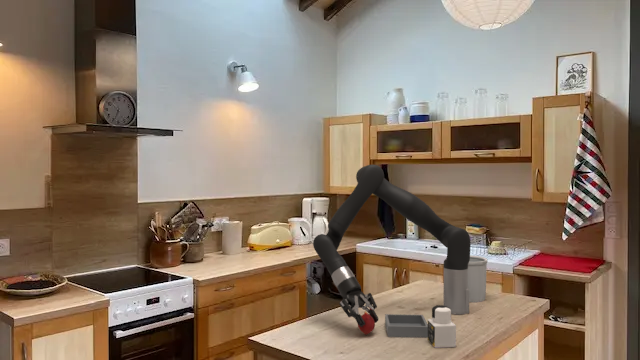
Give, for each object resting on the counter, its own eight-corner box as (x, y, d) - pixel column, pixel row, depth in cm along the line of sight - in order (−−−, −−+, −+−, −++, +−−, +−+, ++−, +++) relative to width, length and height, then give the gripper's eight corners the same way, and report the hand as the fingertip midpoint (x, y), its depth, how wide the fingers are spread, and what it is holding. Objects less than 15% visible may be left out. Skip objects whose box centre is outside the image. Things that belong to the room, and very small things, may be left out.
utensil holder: (492, 303, 206) (492, 261, 206) (456, 303, 207) (456, 261, 206) (480, 293, 221) (481, 255, 221) (447, 293, 221) (447, 255, 221)
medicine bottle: (427, 340, 162) (427, 304, 162) (448, 339, 163) (448, 303, 163) (434, 348, 155) (434, 310, 155) (456, 347, 156) (456, 309, 156)
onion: (376, 332, 170) (376, 309, 169) (372, 338, 164) (372, 314, 164) (360, 331, 171) (360, 308, 171) (355, 336, 166) (355, 312, 166)
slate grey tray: (422, 324, 178) (422, 314, 178) (428, 337, 165) (428, 326, 165) (385, 324, 179) (385, 314, 179) (387, 336, 166) (387, 326, 165)
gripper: (335, 279, 169) (360, 322, 160) (365, 273, 178) (390, 313, 169) (325, 291, 173) (349, 334, 164) (355, 285, 182) (379, 325, 173)
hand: (369, 323), depth 166 cm, fingers closed on onion, 5 cm apart
